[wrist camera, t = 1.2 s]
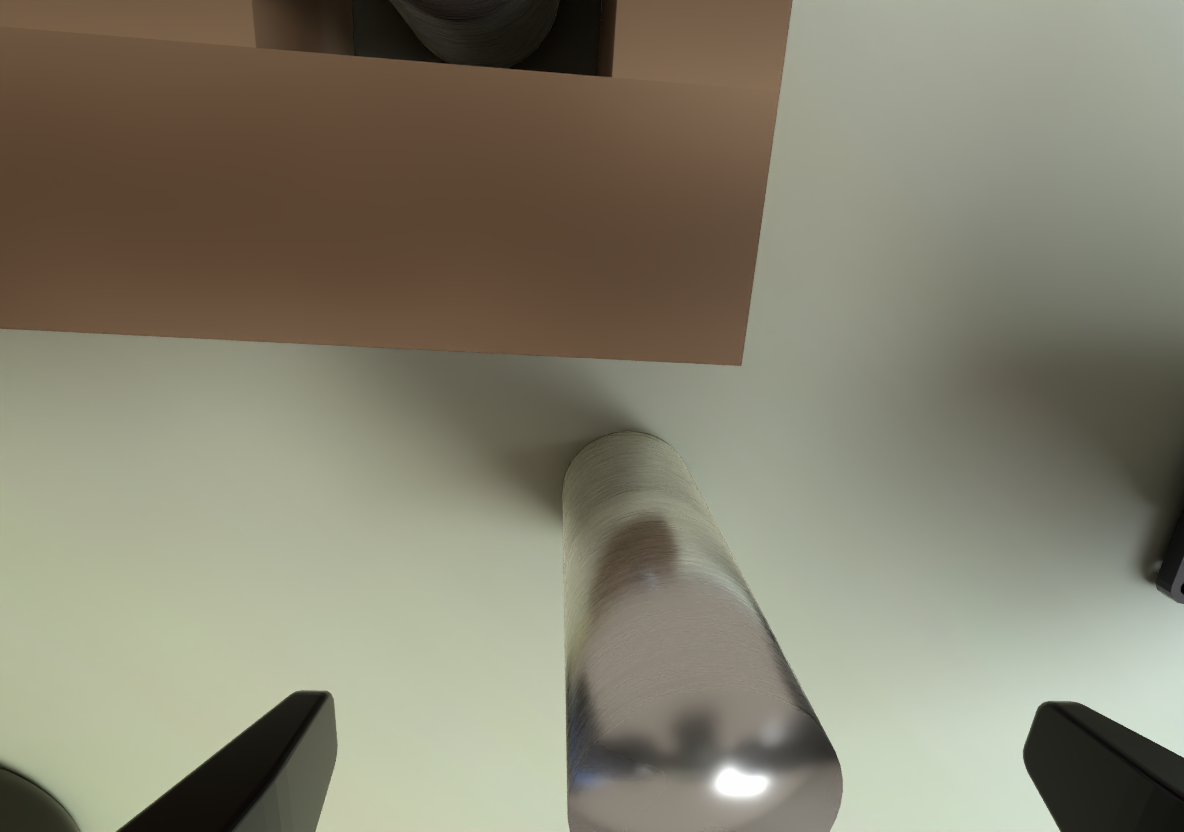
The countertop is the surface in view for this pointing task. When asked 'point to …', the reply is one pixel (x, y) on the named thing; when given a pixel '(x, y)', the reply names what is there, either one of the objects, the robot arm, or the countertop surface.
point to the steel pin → (675, 665)
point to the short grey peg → (480, 28)
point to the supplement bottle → (30, 808)
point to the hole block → (384, 180)
